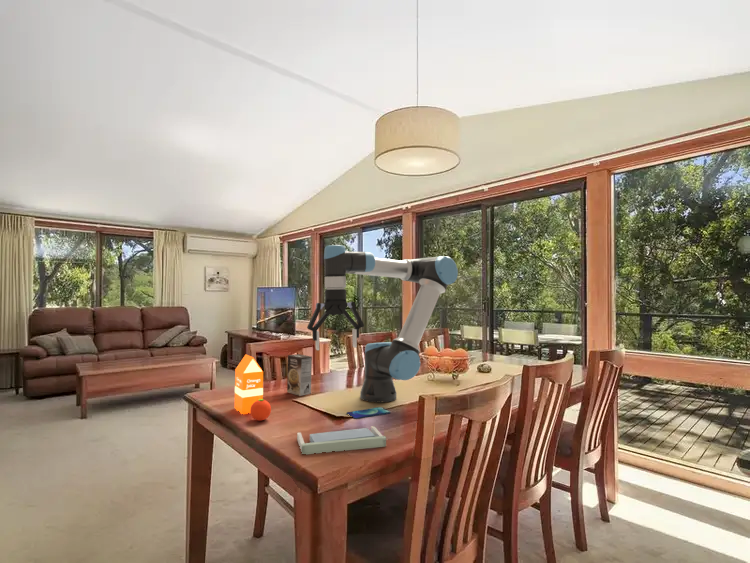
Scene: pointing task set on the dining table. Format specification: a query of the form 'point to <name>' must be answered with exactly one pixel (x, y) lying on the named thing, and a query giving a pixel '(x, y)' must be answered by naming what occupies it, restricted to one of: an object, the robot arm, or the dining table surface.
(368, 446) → the docking bay
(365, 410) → the smartphone
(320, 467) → the dining table surface
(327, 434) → the blue-grey rectangular slab
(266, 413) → the clementine
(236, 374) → the orange juice
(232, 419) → the dining table surface
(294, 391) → the coffee box
